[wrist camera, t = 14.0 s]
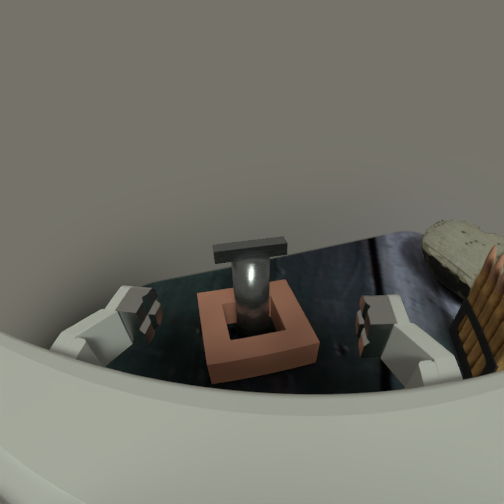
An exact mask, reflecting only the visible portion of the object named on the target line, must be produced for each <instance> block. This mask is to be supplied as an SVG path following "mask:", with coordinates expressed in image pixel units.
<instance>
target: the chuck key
mask: <svg viewBox="0 0 504 504" xmlns="http://www.w3.org/2000/svg"><path fill="white" fill-rule="evenodd" d="M213 254H214V260H215V264H218V263H226V262H231V263H232V275H233V287H234V299H235V310H236V322H237V332H238V339H241V338H247V337H252V336H258V335H263V334H268V333H269V274H270V257H273V256H281V255H287V242H286V240H285V239H284V237H275V238H266V239H258V240H249V241H241V242H232V243H224V244H216V245H213Z"/></svg>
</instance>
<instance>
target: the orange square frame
mask: <svg viewBox="0 0 504 504" xmlns="http://www.w3.org/2000/svg"><path fill="white" fill-rule="evenodd" d="M197 296H198V304H199V312H200V320H201V327H202V335H203V342H204V348H205V355H206V362H207V367H208V371H209V375H210V379H211V383H212V384H216V383H223V382H229V381H234V380H240V379H245V378H251V377H256V376H261V375H265V374H270V373H275V372H279V371H284V370H288V369H292V368H296V367H300V366H304V365H308V364H312V363H316V359H317V354H318V349H319V344H320V342H319V340H318V338H317V336H316V334H315V332H314V331H313V329H312V327H311V325H310V323H309V321H308V320H307V318H306V316H305V314H304V312H303V310H302V309H301V307H300V305H299V303H298V301H297V300H296V298H295V296H294V294H293V292H292V290H291V289H290V287H289V285H288V283H287V281H286V280H279V281H273V282H269V317H271V319H272V321H273V324H274V326H275V328H276V331H277V332H273V333H268V334H263V335H258V336H252V337H247V338H241V339H235V340H230V337H229V332H228V328H227V324H231V323H237V322H236V310H235V299H234V288H229V289H223V290H216V291H209V292H202V293H197Z"/></svg>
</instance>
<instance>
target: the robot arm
mask: <svg viewBox="0 0 504 504" xmlns="http://www.w3.org/2000/svg"><path fill="white" fill-rule="evenodd" d="M157 297H158V296H157V293H156V290H155V289H153V288H145V287H135V286H133V287H132V286H121V287H120V289H119V290H118V292H117V293H116V294H115V296H114V297H113V298H112V300H111V301H110V302H109V304H108V305H107V307H106V308H105V309H101V310H99V311H98V312H96V313H94V314H92V315H90V316H89V317H87V318H85V319H84V320H82V321H80V322H78V323H77V324H75V325H73V326H72V327H70V328H68V329H67V330H65V331H63V332H61V334H60V335H59V337H58V338H57V339H56V341H55V343H54V344H53V345H52V347H51V348H50V350H47V349H44V348H41V347H38V346H36V345H33V344H30V343H28V342H25V341H23V340H20V339H18V338H15V337H13V336H11V335H8V334H7V333H4V332H0V504H504V370H502V371H498V372H494V373H491V374H487V375H483V376H478V377H474V378H470V379H465V380H463V378H462V375H461V372H460V370H459V367H458V364H457V362H456V359H455V356H454V355H453V354H451V353H450V352H449V351H448V350H446V349H445V348H444V347H443V346H442V345H440V344H439V343H438V342H437V341H435V340H434V339H433V338H432V337H430V336H429V335H428V334H427V333H425V332H424V331H423V330H422V329H420V328H419V327H418V326H417V325H415V324H414V323H410V321H409V318H408V315H407V313H406V310H405V308H404V305H403V303H402V300H401V298H400V296H399V295H398V294H396V295H368V296H361V298H360V303H359V305H360V310H359V311H358V312H357V316H356V324H355V327H356V336H357V337H358V338H360V339H359V343H358V347H359V353H360V358H374V357H381V359H382V360H383V362H384V363H385V364H386V365H387V366H388V367H389V369H390V370H391V371H392V372H393V373H394V375H395V376H396V377H397V378H398V379H399V381H400V382H401V383H402V384H403V385H404V387H405V388H404V389H402V390H393V391H382V392H369V393H351V394H277V393H259V392H246V391H235V390H225V389H216V388H208V387H201V386H193V385H187V384H181V383H175V382H169V381H163V380H158V379H153V378H148V377H143V376H138V375H134V374H129V373H125V372H121V371H117V370H113V369H109V368H105V366H106V365H107V364H108V363H110V362H111V361H112V360H113V359H115V358H116V357H117V356H118V355H119V354H121V353H122V352H123V351H124V350H125V349H127V348H128V347H129V346H130V345H131V344H132V343H138V344H145V345H150V343H151V341H152V339H153V337H154V335H155V331H154V329H155V328H157V327H158V326H159V325H160V323H161V320H162V308H161V305H160V304H159V303H158V302H157V301H156V298H157Z"/></svg>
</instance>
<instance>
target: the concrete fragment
mask: <svg viewBox="0 0 504 504" xmlns="http://www.w3.org/2000/svg"><path fill="white" fill-rule="evenodd" d="M494 245H496V247H497V251H496V258H495V262H494V265H495V263H496V261H497V260H498V258H499V257H500V256H501V255H502V254H504V237H500V236H499V235H497V234H495V233H488V234H487V233H485V232H483V231H481V230H480V227H478V226H476V225H474V224H471V223H468V222H465V221H453V220H450V221H444V220H442V221H439V222H437V223H435V224H434V225H433V226H431V227H430V228H428V229H427V230H426V232H425V234H424V235H423V238H422V251H423V254H424V259H425V263H426V265H427V266H428V267H429V269H430V271H431V273H432V274H433V275H434V276H435V277H436V278H437V279H438V280H439V281H440V282H441V283H442V284H443V285H444V286H445V287H447V288H448V289H449V290H451V291H452V292H454V293H456V294H457V295H459V296H460V297H461V298H462V299H463V300H464V299H465V297H468V296H469V294H470V292H471V289H472V287H473V285H474V282H475V280H476V278H477V276H478V275H479V273H480V271H481V269H482V267H483V264H484V262H485V259H486V257H487V255H488V253H489V252H490V250H491V249H492V247H493V246H494ZM494 265H493V267H494ZM492 269H493V268H492ZM503 272H504V264H503V269H502V272H501V275H502V274H503ZM501 275H500V277H501ZM499 279H500V278H499ZM498 281H499V280H498Z"/></svg>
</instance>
